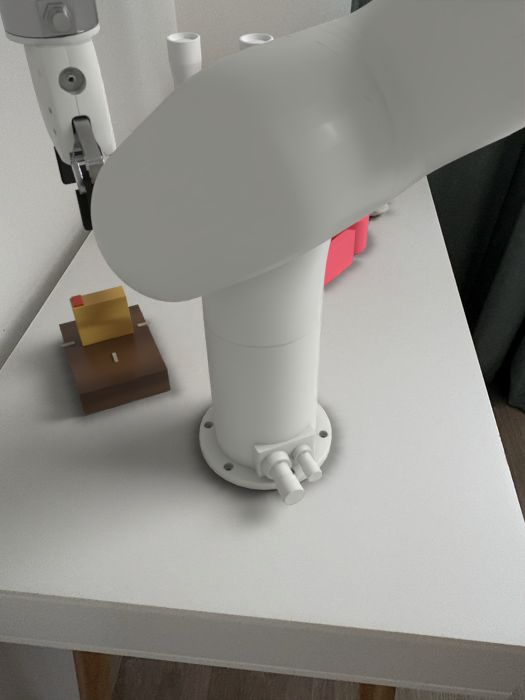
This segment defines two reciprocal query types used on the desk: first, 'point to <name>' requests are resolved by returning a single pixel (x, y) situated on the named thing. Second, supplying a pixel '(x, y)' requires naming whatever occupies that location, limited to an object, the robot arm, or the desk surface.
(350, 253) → the letters
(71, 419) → the desk surface
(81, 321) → the handle
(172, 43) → the binoculars
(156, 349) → the plate
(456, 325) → the desk surface
